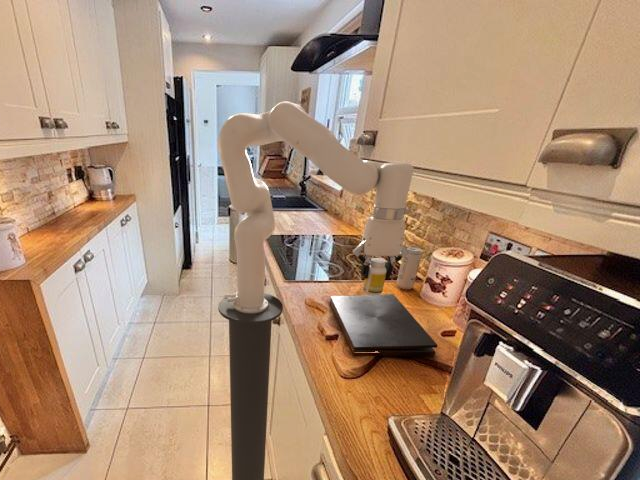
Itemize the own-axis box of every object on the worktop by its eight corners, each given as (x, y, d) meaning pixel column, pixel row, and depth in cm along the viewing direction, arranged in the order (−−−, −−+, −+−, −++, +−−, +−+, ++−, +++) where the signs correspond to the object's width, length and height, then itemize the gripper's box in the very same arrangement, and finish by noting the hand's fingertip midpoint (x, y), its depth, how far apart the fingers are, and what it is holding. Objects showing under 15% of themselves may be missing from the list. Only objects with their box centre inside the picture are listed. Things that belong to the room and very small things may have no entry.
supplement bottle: (386, 292, 95) (393, 261, 91) (373, 297, 93) (379, 264, 88) (371, 286, 99) (377, 255, 95) (358, 290, 97) (364, 258, 92)
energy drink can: (412, 291, 121) (423, 252, 114) (395, 288, 124) (404, 250, 117) (413, 285, 126) (423, 247, 119) (396, 282, 128) (405, 245, 122)
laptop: (391, 304, 112) (392, 299, 111) (434, 357, 85) (436, 351, 84) (329, 303, 113) (330, 298, 112) (353, 355, 86) (354, 349, 85)
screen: (393, 296, 110) (393, 294, 110) (437, 347, 84) (437, 345, 83) (330, 298, 112) (330, 296, 111) (354, 350, 85) (354, 347, 85)
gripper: (414, 210, 89) (400, 272, 97) (351, 210, 89) (342, 271, 97) (427, 216, 82) (411, 282, 90) (359, 216, 83) (348, 281, 91)
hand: (375, 276), depth 94 cm, fingers closed on supplement bottle, 5 cm apart
